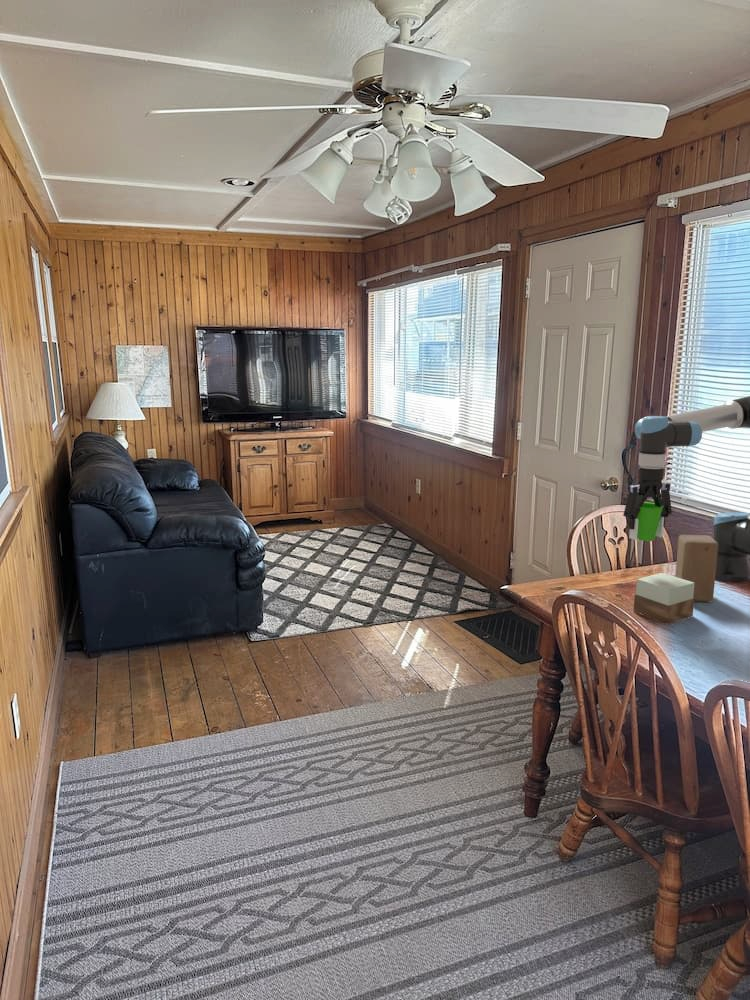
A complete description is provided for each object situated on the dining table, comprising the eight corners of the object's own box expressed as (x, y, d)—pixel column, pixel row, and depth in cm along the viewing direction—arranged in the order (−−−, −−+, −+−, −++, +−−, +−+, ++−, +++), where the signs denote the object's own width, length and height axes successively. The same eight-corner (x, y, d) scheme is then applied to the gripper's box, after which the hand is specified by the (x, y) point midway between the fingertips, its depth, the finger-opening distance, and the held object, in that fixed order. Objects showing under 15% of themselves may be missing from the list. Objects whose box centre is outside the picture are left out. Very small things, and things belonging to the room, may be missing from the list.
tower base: (658, 605, 216) (660, 587, 215) (692, 617, 206) (694, 598, 205) (633, 612, 210) (634, 594, 209) (667, 625, 200) (668, 606, 199)
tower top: (660, 587, 214) (661, 572, 213) (693, 598, 205) (694, 582, 204) (636, 594, 209) (637, 579, 208) (668, 605, 199) (669, 589, 198)
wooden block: (713, 603, 217) (719, 542, 212) (680, 601, 219) (685, 541, 214) (705, 592, 226) (710, 534, 222) (673, 591, 228) (678, 533, 224)
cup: (663, 543, 208) (666, 508, 206) (632, 542, 210) (634, 507, 208) (658, 536, 216) (660, 502, 214) (628, 534, 218) (630, 501, 216)
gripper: (671, 463, 215) (665, 531, 220) (613, 467, 209) (609, 537, 213) (688, 466, 208) (682, 537, 213) (629, 470, 202) (624, 543, 206)
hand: (645, 537), depth 213 cm, fingers closed on cup, 9 cm apart
